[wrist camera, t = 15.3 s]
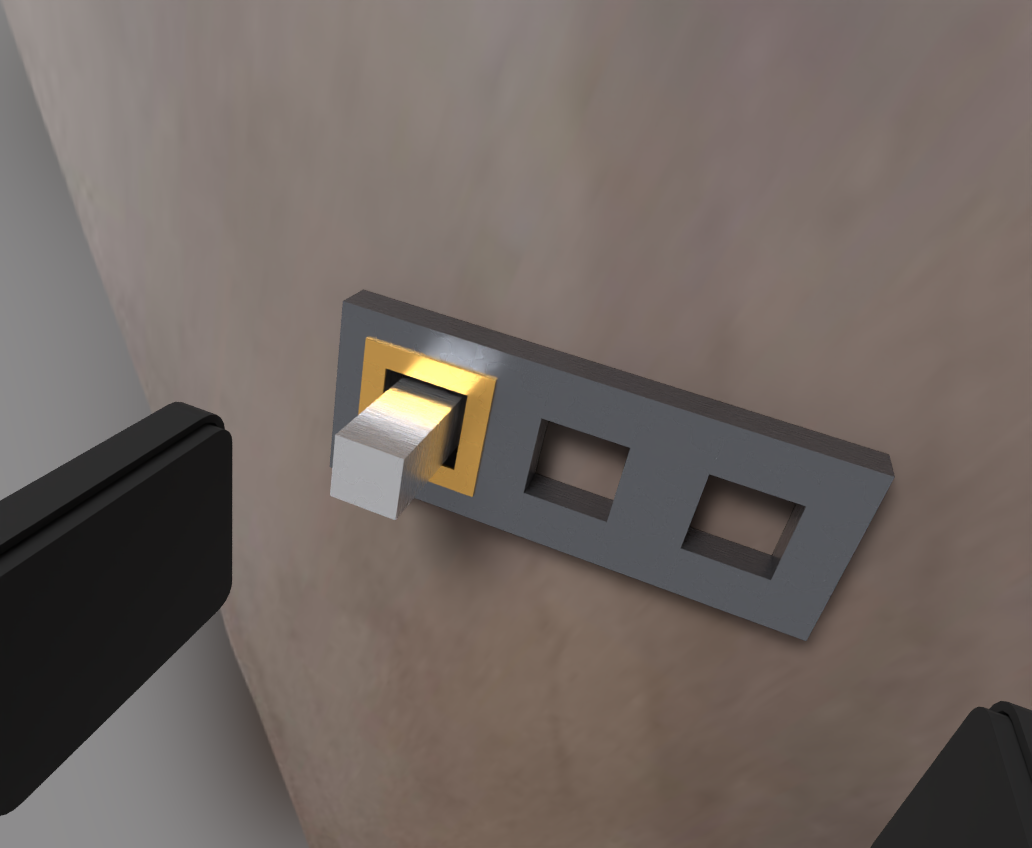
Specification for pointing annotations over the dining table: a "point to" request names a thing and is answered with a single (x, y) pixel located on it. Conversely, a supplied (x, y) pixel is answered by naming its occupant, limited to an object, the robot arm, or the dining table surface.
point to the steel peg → (396, 445)
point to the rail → (648, 469)
